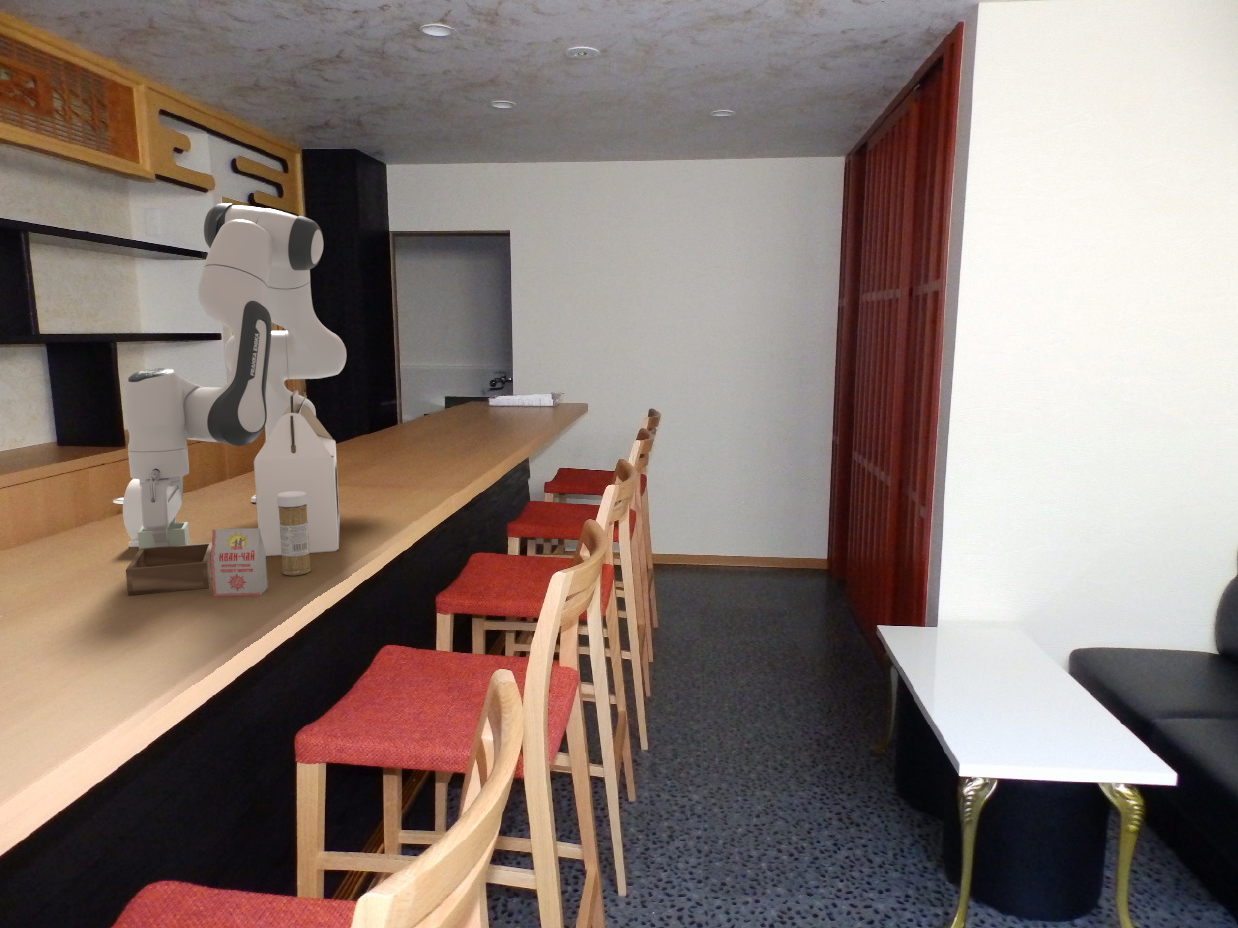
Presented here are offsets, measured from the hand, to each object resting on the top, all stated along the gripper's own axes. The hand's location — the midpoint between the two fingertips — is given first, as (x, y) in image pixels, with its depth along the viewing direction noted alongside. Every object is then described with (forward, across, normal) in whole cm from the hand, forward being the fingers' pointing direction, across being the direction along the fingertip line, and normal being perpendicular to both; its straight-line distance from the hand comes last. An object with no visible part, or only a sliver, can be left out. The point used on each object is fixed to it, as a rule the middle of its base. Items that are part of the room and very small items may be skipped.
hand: (166, 544), depth 144 cm
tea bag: (+3, -23, -13) cm, 26 cm away
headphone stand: (+3, +14, +5) cm, 16 cm away
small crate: (+3, 0, 0) cm, 3 cm away
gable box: (+3, +8, -22) cm, 24 cm away
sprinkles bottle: (+3, -15, -21) cm, 26 cm away
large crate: (+3, -12, -2) cm, 13 cm away
